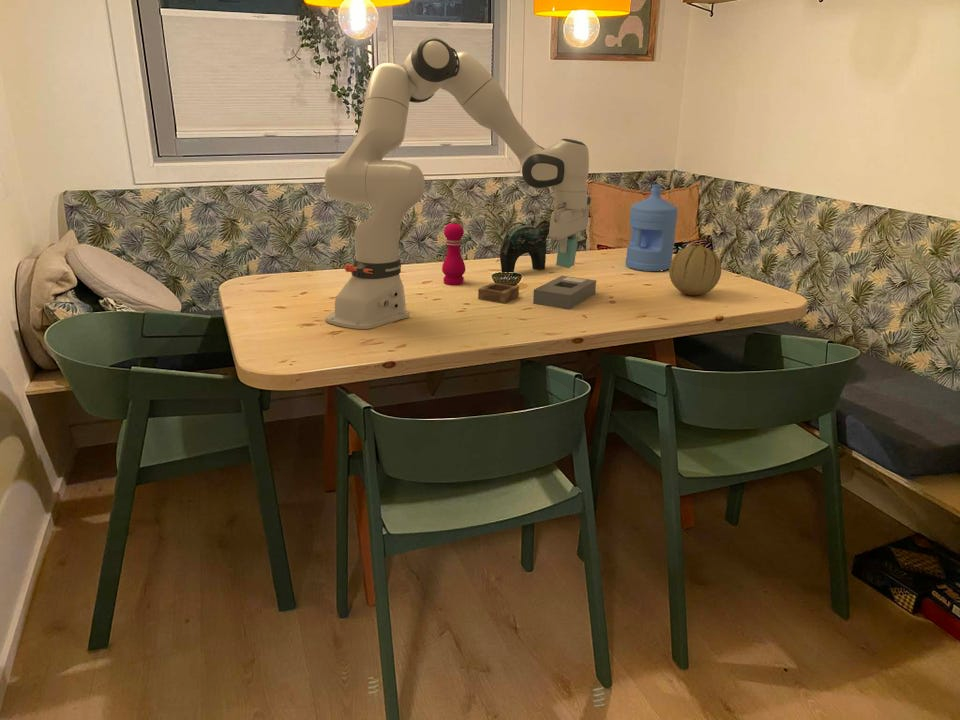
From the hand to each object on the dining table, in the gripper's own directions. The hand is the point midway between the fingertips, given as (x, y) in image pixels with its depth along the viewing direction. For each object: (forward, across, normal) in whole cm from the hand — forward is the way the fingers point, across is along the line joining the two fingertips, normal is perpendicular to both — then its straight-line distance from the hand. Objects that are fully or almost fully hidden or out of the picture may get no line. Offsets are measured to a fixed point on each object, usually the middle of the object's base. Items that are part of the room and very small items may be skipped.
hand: (567, 250), depth 195 cm
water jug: (+15, +53, -10) cm, 56 cm away
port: (+14, -1, 0) cm, 14 cm away
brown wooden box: (+14, -10, +16) cm, 24 cm away
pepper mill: (+14, -2, +36) cm, 39 cm away
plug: (+4, 0, 0) cm, 4 cm away
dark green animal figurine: (+14, +24, +24) cm, 36 cm away
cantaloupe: (+14, +24, -31) cm, 42 cm away
